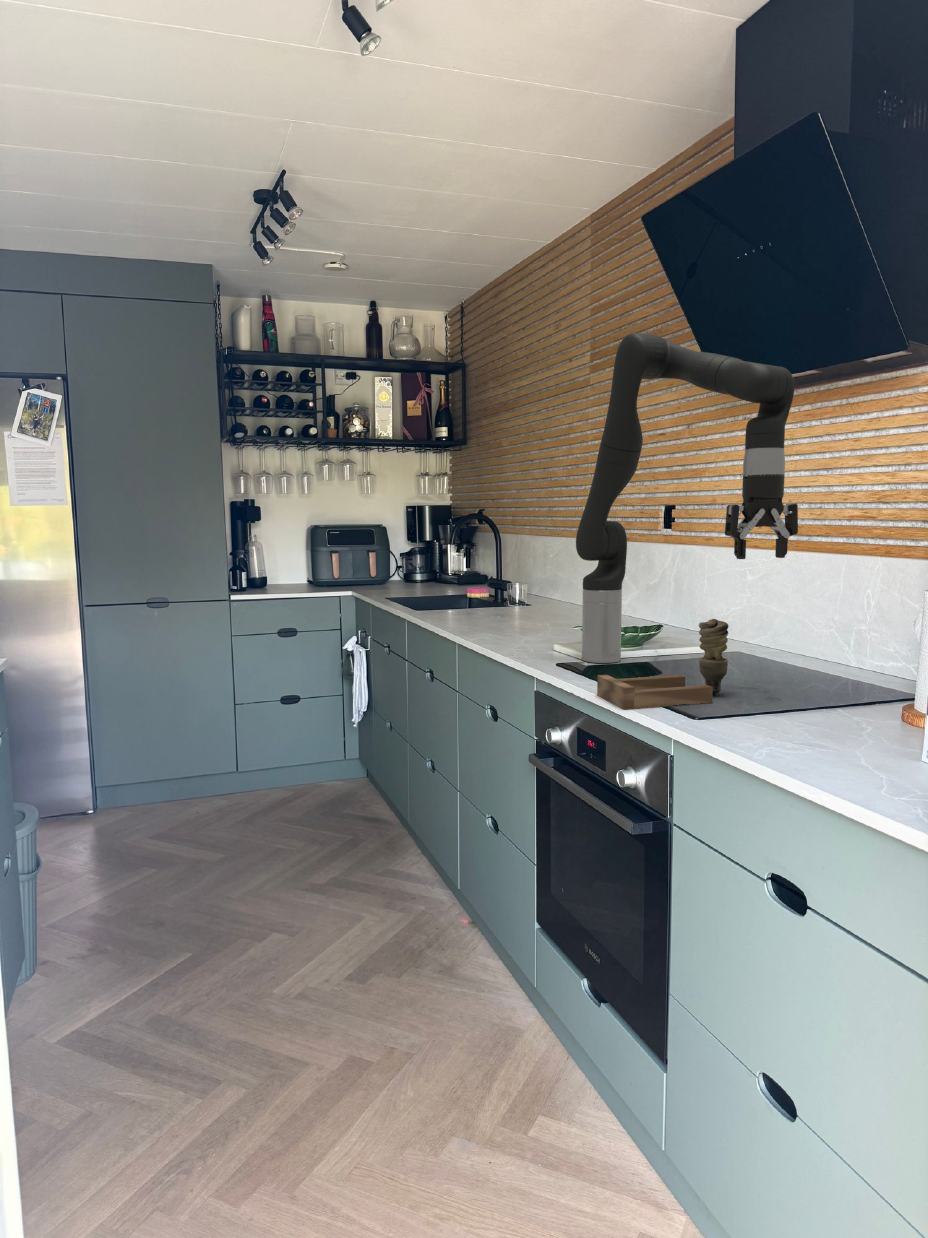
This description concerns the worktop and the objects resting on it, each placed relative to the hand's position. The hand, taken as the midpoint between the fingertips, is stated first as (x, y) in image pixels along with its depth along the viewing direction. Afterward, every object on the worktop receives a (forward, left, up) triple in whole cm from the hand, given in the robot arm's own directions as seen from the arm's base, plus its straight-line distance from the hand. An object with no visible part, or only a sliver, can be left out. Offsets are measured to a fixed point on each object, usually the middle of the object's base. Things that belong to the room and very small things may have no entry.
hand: (760, 558), depth 159 cm
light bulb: (-1, -9, -27) cm, 28 cm away
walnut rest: (-1, -21, -26) cm, 34 cm away
